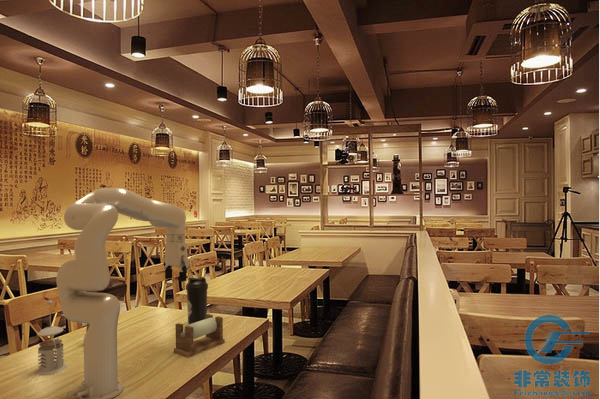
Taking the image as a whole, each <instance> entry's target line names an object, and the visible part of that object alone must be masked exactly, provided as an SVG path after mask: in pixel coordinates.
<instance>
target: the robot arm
mask: <svg viewBox="0 0 600 399" xmlns="http://www.w3.org/2000/svg"><path fill="white" fill-rule="evenodd" d="M119 214H120V215H122V216H126V217H127V218H131V219H134V220H137V221H142V222H149V224H150V225H151V226H153V227H155V228H164V229H165V250H164V257H162V259H161V260H162V265H163V269H164V280H170V279H173V268H172V267H175V268H178V269H179V272H178V273H179V274H178V281H179V282H180V283H182V282H183V283H184V282H186V281H188V280H187V279H188V276H187V274H188V269H189V267H190V264H191V263H190V262H191V261H190V260H189V255H188V246H187V242H186V220H187V218H186V217H187V216H186V211H185V210H184V209H182V208H180V206H179V207H178V206H176V205H175V204H172V203H171V204H170V203H166V202H163V201H159V200H157V199H156V200H155V199H152V198H147V197H145V196H143V195H140V194H138V193H137V192H133V191H131V190H129V189H126V188H122V187H102V188H97V189H94V190H93V191H91V192H89V193H88V194H86V195H84V196H83V197H81V198H79V199H77V200H76V201H75V202H73V203H71V204H70V205H69V206H68V207H67V208H66V210H65V211H64V213H63V215H64V216H63V220H64V223H65V225H66V227H68V228H70V229H71V230H74V231H81V232H80V233H79V235H78V236H77V239H76V240H75V242H74V257H75V259H71V260H68V261H65V262H63V263H62V264H61V266H59V268H58V269H57V270H58V271H57V274H56V279H55V280H56V288H57V293H58V298H59V302H60V307H61V312H62V314H63V316H64V318H65V319H66V320H68V321H69V322H73V323H81V324H87V323H88V324H90V326H89V329H88V330H87V332H86V331H85V332H86V333H85V335H84V337H83V338H84V339H83V374H84V375H83V376H84V377H83V378H84V380H83V381H81V382H80V385H79V386H77V388H74V389H71V390H68V391H67V397H68V398H69V399H70V398H72V397H76V398H78V399H113V398H115V397H117V396H118V395H120V394H121V393H122V391H123V390H124V384H123V383H122V382H120V381H119V379H118V378H119V377H118V375H119V374H118V372H119V370H118V368H119V367H118V324H119V317H120V312H121V303H120V300H119V299H118V298H117V296H115V295H113V294H111V293H106V292H102V291H104V290H105V289H106V288H108V286H109V285H110V279H111V277H110V276H111V275H110V268H109V264H108V262H109V261H108V258H107V251H106V250H107V249H106V244H107V242H106V241H107V239H108V237H109V234H110V233H111V231H112V230H113V229H114V227H115V226H116V224H117V222H118V219H119Z"/></svg>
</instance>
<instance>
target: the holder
mask: <svg viewBox="0 0 600 399" xmlns="http://www.w3.org/2000/svg"><path fill="white" fill-rule="evenodd" d="M208 318H214V315H213V314H210V313H207V314H206V315H205V319H208ZM223 318H224V317H223V316H215V318H214V319H215V321H216V323H217V329H216V331H215V332H212V333H209V334H206V335H205V336H204V337H201V338H199V339H198V338H197V339H196V340H194V339H193V327H191V326H187V327H185V326H184V324H183V323H180V322H179V323H175V347H174V348H173V353H175V354H178V355H181V356H183V357H186V358H190V357H193V356H195V355H198V354H200V353H203V352H206V351H208V350H210V349H212V348H215V347H217V346H221V345H222V344H225V342H226V339H224V331H223V330H224V328H223V325H224V324H223V323H224V322H223V321H224V320H223ZM184 328H185V337H181V336H180V334H181V333H182V332H184Z"/></svg>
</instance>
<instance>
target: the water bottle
mask: <svg viewBox="0 0 600 399" xmlns="http://www.w3.org/2000/svg"><path fill="white" fill-rule="evenodd" d="M187 279H188V280H187V281H188V282H187V284H185V290H186V302H187V303H186V304H187V305H186V308H187V309H186V310H187V325H189V324H192V323H195V322H198V321H201V320H204V319H205V315H206V314H208V313H207V312H208V288H209V284H208V283H207V280H206V278H205V277H204V276H201V277H200V278H198V277H189V278H188V277H187Z"/></svg>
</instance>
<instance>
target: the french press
mask: <svg viewBox="0 0 600 399" xmlns="http://www.w3.org/2000/svg"><path fill="white" fill-rule="evenodd" d="M46 304H47V305H49V325H50V326H46V327H44V328H43V329H40V331H39V332H37V333H36V334H37V336H39V337H50V339H47V340H43V341H42V342H40V343H39V344H38V346H39V347H38V348H37V354H38V355H37V356H38V359H37V360H38V367H37V368H36V370H35V372H34V373H35V375H37V376H38V375H39V376H47V375H53V374H58V373H60V372H62V371H64V370H65V369H66V368H67V367H68V366H67V365H66V364H65V362H64V344H63V343H62V342H63V340H62V339H60V337H59V336H56V335H59V334H61V333H62V332H63V331H64V328H62V327H61V326H55V325H54V326H52V319H51V318H52V315H51V314H52V312H51V310H52V308H51V305H52V304H54V300H51V299H50V300H48V301H47V302H46ZM52 336H56V338H55V339H54V338H53V337H52Z"/></svg>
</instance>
